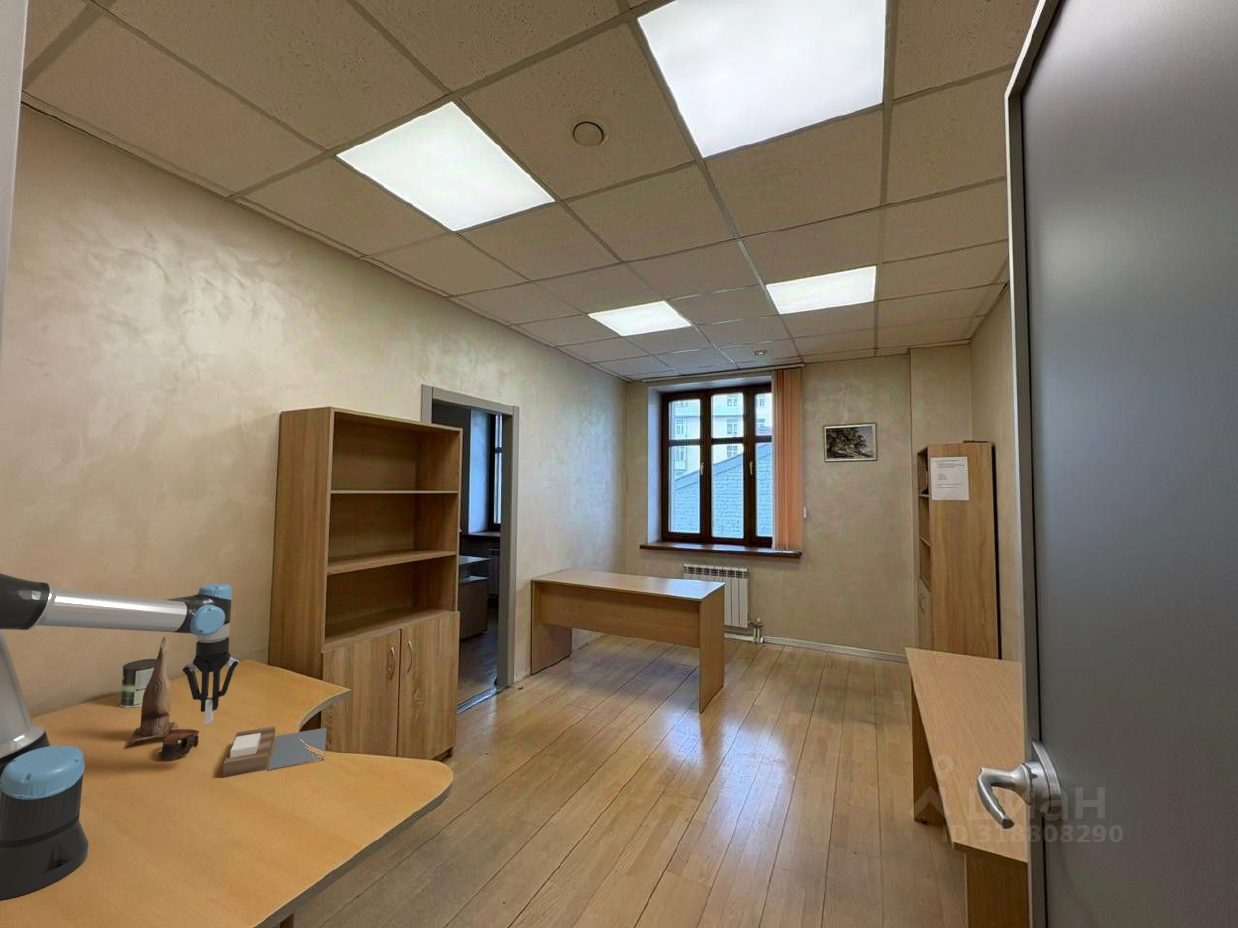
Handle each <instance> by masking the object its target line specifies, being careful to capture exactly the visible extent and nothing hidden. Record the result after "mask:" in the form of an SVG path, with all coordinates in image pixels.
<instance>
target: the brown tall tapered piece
mask: <svg viewBox="0 0 1238 928" xmlns="http://www.w3.org/2000/svg"><path fill="white" fill-rule="evenodd" d="M167 653H168V637H167V636H164V637H162V639H161V643H160V646H159V651H158V655H157V657H156V659H157V660H156V663H155V667H154V670H153V673H152V676H151V679H150V681H149V683H148V685H147V687H146V689H145V691H144V694H143V700H142V706H141V712H140V714H141V715H140V726H139V727H137V728H135V729H134V730H133V733H132V735H131V737H130V739H129V740H128V742H127V744H126V747H125V750H127V749H128V748H129V747H130V746H131V745H132V744H134V743H135V742H138V741H142V740H147V739H148V740H149V739H154V738H160V737H161V738H162V737H166V736H167V735H168V734H169V731H170V730H175V729H179V728H178V727H179V725H178V724H179V723H178V722H176V721H171V722H170V714H171V702H172V684H171V681H170V679H169V676H167V675H168V674H167Z"/></svg>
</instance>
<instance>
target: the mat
mask: <svg viewBox="0 0 1238 928" xmlns="http://www.w3.org/2000/svg"><path fill="white" fill-rule="evenodd" d="M327 728H328V727H323V728H322V727H321V728H316V729H310V730H303V731H298V732H293V733H284V734H280V735H276V737H275V740H274V744H273V748H272V752H271V755H270V759H269V763H268V766H267V771H268V772H269V771H270V772H271V771H274V770H278V769H279V770H280V769H284V768H290V767H295V766H300V765H299V764H301V765H303V764H302V763H306V764H308V763H307V762H311V761H315V759H316V760H318V759H319V760H320V759H323V757H324V758H325V756H322V755H319V754H316V753H315V752H312V751H309V749H307V748H309V747H308V746H306V745H305V744H307V745H309V746H311V747H314V748H317V749H319V750H321V751H324V752H325V753H326V744H327V743H326V742H327V741H326V740H327ZM298 737H299V738H298ZM300 739H302V740H303V741H304V743H305V744H304V743H303V742H302V741H300ZM305 747H307V748H305ZM310 749H311V748H310ZM308 752H309V753H308ZM317 752H318V751H317ZM312 754H313V756H312ZM317 756H322V757H321V758H320V757H317ZM313 757H314V758H313ZM311 763H312V762H311Z"/></svg>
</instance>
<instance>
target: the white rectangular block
mask: <svg viewBox="0 0 1238 928" xmlns="http://www.w3.org/2000/svg"><path fill="white" fill-rule="evenodd" d="M260 738H261V733H257V734H251V735H245V736H239V737H236V739H235V738H234V739H235V742H234V744H233V746H232V745H231V746H232V749H231V752H230V758H233V757H238V756H244V755H250V754H255V753H256V751H257V748H258V745H259V742H260Z"/></svg>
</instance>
